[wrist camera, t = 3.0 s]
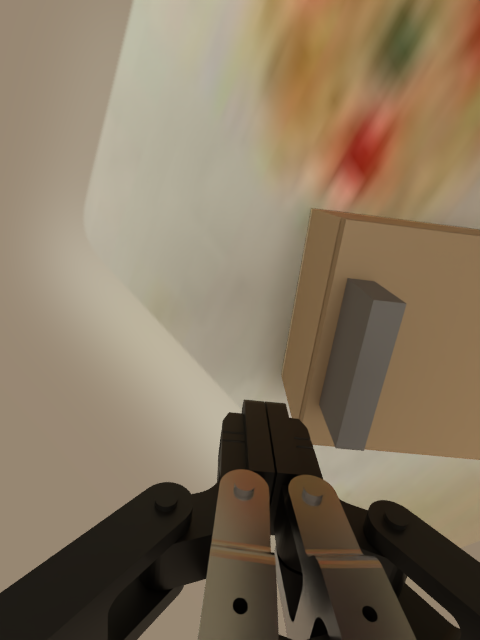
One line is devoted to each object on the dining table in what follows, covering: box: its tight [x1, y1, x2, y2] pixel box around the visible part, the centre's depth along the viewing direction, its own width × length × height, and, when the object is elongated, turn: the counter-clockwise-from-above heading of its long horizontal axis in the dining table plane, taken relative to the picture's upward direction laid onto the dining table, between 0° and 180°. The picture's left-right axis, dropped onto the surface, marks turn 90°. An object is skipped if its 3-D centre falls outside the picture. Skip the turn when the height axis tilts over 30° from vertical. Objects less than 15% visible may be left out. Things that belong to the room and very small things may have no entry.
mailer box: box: [281, 208, 480, 419], centre depth 27 cm, size 20×14×8 cm
